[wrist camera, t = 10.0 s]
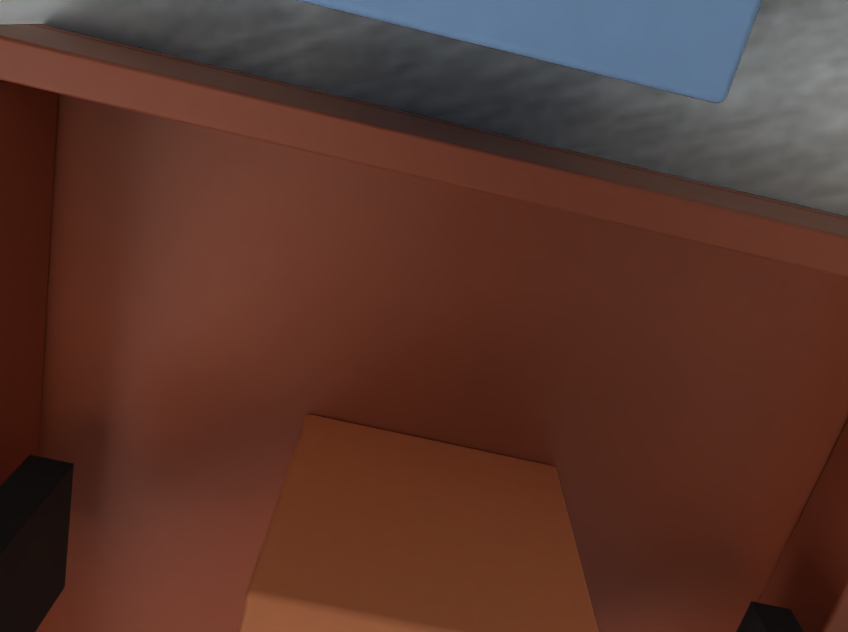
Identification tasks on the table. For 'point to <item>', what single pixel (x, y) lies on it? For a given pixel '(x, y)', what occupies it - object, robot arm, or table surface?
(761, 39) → the table surface
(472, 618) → the terracotta block
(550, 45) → the blue block
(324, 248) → the clay tray
